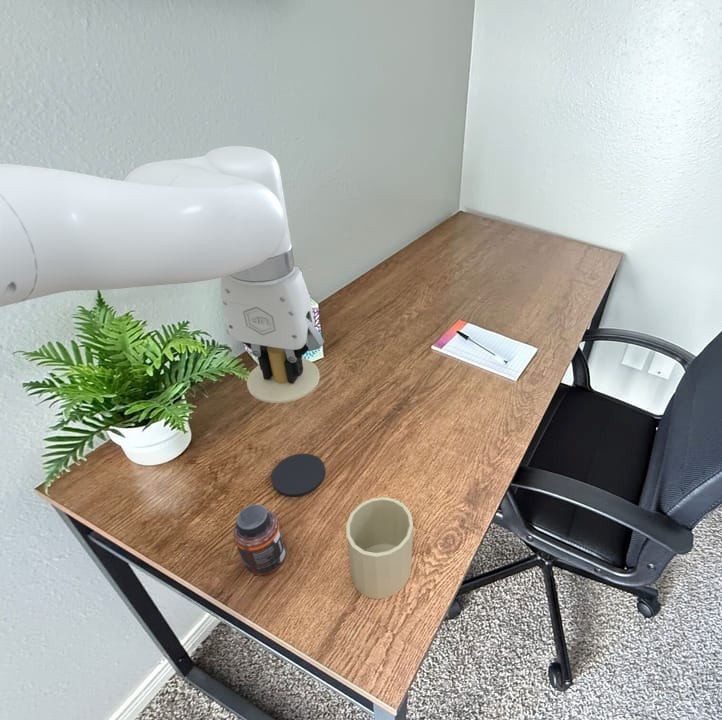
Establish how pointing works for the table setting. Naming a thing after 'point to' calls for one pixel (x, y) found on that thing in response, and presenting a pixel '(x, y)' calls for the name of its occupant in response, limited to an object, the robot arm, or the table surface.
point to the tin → (380, 547)
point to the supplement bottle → (259, 540)
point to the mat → (298, 475)
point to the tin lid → (282, 380)
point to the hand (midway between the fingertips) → (283, 374)
